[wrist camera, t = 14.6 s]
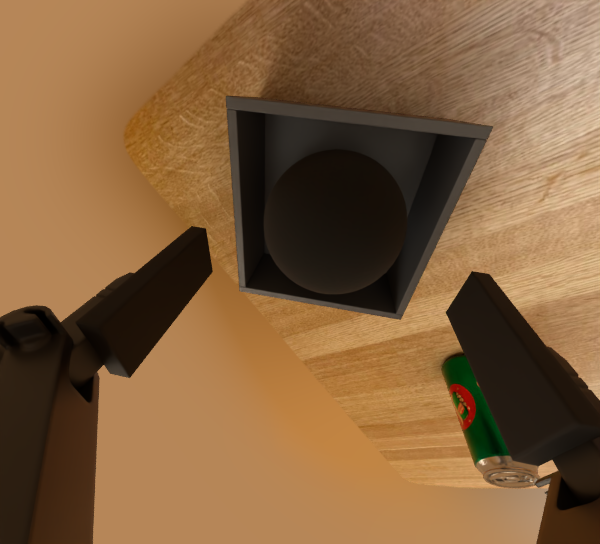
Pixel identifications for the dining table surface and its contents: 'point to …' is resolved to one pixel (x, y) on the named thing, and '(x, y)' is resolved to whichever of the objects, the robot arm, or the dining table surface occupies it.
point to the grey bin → (359, 138)
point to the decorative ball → (335, 221)
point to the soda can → (483, 429)
